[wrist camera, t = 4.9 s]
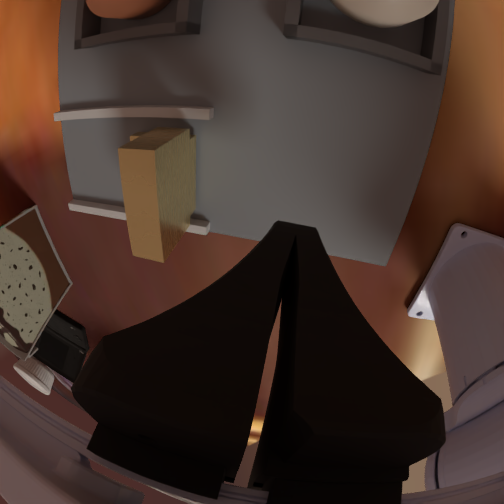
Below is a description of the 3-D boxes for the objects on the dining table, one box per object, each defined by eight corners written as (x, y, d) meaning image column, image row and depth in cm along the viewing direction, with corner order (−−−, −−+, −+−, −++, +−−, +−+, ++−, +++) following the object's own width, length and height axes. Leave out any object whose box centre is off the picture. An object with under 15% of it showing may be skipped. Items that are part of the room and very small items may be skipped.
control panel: (440, -26, 6) (468, -42, 4) (380, 245, 17) (389, 284, 14) (87, -33, 9) (50, -38, 6) (91, 194, 19) (62, 218, 16)
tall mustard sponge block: (196, 124, 12) (154, 150, 9) (195, 216, 15) (164, 262, 12) (138, 122, 13) (86, 147, 10) (144, 208, 16) (105, 248, 13)
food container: (3, 195, 21) (-63, 252, 13) (31, 190, 20) (-48, 256, 12) (46, 287, 28) (0, 347, 21) (78, 294, 27) (28, 364, 19)
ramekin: (61, 377, 52) (51, 395, 47) (53, 381, 57) (45, 396, 53) (25, 346, 48) (14, 363, 44) (21, 354, 54) (12, 368, 49)
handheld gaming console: (73, 324, 29) (52, 393, 26) (103, 327, 36) (82, 387, 33) (21, 283, 30) (3, 345, 28) (51, 292, 37) (33, 347, 35)
